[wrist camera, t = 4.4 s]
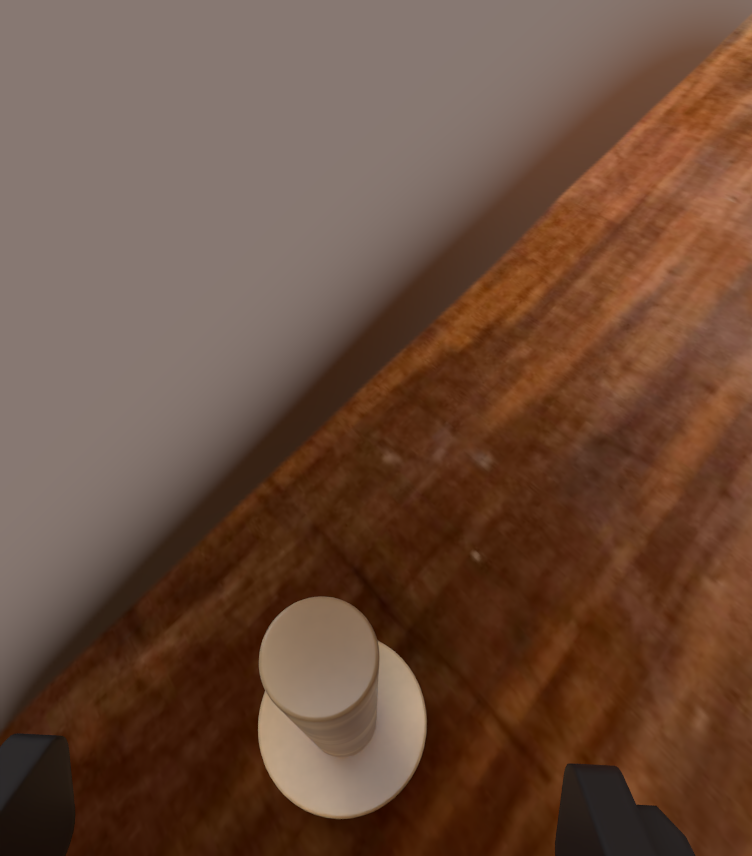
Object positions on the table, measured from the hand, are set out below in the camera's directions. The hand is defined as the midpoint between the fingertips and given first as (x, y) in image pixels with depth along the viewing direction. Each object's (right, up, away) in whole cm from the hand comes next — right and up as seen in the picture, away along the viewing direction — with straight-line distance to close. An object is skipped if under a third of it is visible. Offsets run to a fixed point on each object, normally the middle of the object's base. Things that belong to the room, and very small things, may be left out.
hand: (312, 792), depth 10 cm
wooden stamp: (0, -4, +11) cm, 11 cm away
